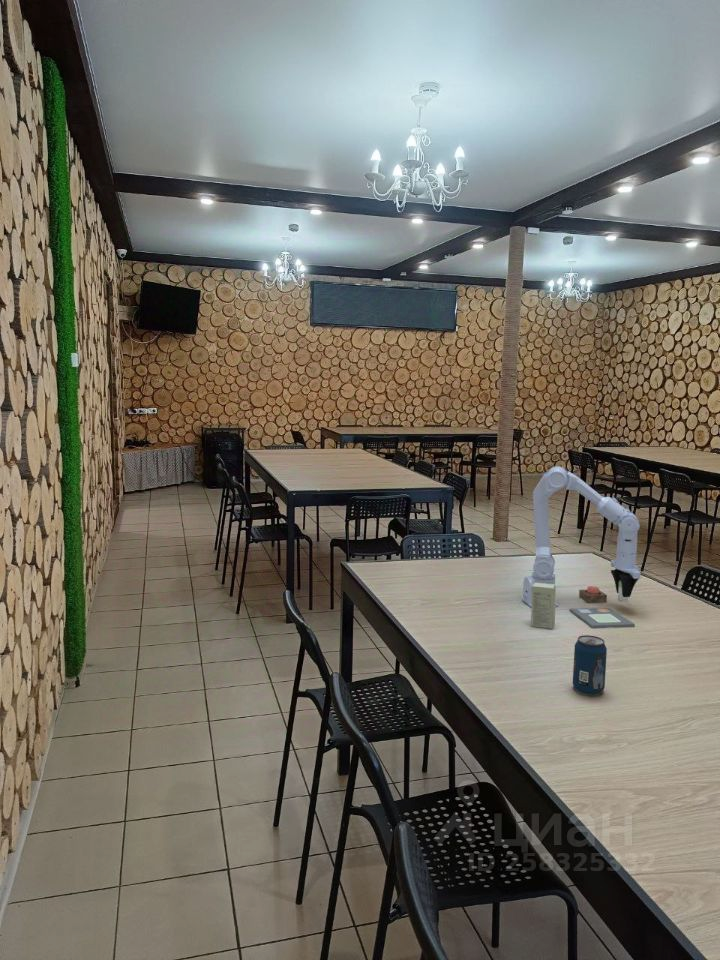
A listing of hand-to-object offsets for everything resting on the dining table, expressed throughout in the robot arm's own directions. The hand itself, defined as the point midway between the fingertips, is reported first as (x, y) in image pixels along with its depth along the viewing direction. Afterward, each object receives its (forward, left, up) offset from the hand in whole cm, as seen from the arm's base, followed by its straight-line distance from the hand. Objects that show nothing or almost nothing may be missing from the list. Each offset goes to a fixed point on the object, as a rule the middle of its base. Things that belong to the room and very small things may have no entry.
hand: (623, 594), depth 208 cm
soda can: (-36, -52, -6) cm, 63 cm away
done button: (-4, +12, -5) cm, 14 cm away
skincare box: (-30, -10, -6) cm, 32 cm away
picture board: (-10, -6, -5) cm, 13 cm away
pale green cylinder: (0, 0, -2) cm, 2 cm away
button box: (-4, +12, -5) cm, 14 cm away
